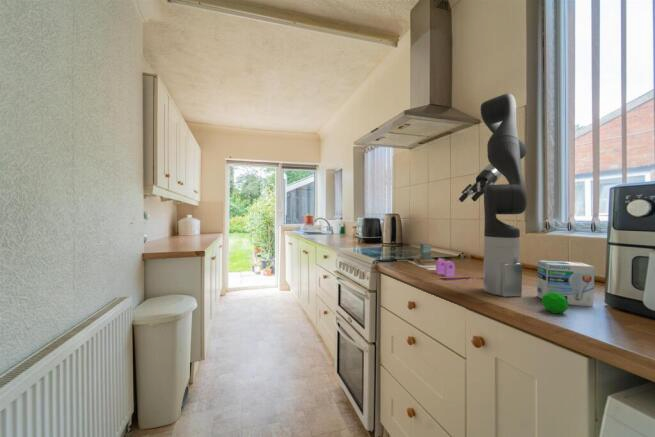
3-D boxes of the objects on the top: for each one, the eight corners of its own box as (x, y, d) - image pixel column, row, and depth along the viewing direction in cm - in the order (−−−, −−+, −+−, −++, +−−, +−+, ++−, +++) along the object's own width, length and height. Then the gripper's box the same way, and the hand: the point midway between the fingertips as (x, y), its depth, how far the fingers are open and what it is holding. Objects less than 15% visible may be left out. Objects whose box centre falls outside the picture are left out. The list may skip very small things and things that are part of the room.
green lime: (569, 312, 67) (569, 293, 67) (566, 317, 64) (567, 297, 64) (543, 307, 71) (544, 289, 71) (539, 311, 67) (540, 292, 67)
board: (453, 272, 112) (453, 269, 112) (428, 273, 110) (428, 269, 110) (428, 263, 132) (428, 260, 132) (406, 264, 130) (406, 261, 130)
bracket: (446, 280, 99) (446, 261, 99) (435, 277, 104) (436, 259, 104) (474, 278, 103) (474, 260, 103) (463, 275, 108) (463, 257, 108)
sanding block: (437, 265, 120) (437, 245, 119) (424, 265, 119) (424, 245, 118) (425, 261, 129) (425, 242, 129) (413, 261, 128) (414, 242, 128)
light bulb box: (546, 303, 74) (547, 263, 74) (535, 296, 81) (536, 259, 80) (595, 307, 71) (596, 266, 71) (579, 299, 77) (580, 261, 77)
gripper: (473, 171, 130) (451, 195, 128) (496, 166, 116) (472, 193, 114) (483, 183, 131) (461, 206, 129) (507, 179, 117) (483, 205, 115)
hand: (466, 200), depth 121 cm, fingers open, 8 cm apart
